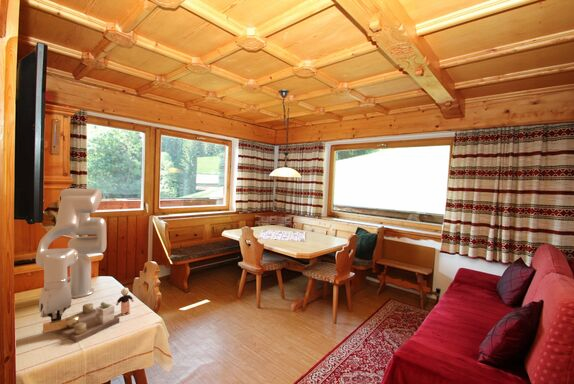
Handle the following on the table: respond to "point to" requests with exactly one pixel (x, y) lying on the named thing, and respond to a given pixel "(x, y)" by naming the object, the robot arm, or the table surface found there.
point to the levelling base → (90, 322)
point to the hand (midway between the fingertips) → (56, 325)
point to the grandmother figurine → (125, 302)
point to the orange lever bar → (61, 324)
